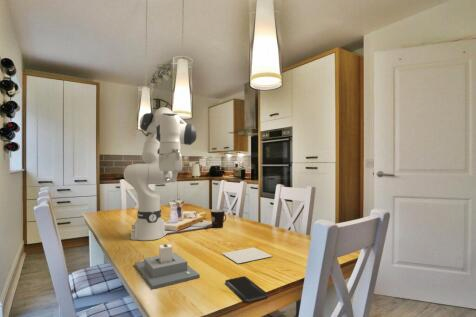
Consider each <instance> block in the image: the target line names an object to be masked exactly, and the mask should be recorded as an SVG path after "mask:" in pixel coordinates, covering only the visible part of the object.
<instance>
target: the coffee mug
mask: <svg viewBox="0 0 476 317" xmlns="http://www.w3.org/2000/svg"><path fill="white" fill-rule="evenodd" d="M225 212H226V210H224V209H210V216H211V217H210V218H211V226H212V229H222V228H223V227H224V222H226V220H227V215H226V214H225Z"/></svg>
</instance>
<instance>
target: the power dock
mask: <svg viewBox="0 0 476 317" xmlns="http://www.w3.org/2000/svg"><path fill="white" fill-rule="evenodd" d="M134 267H136V269H137V270H138V272H139V273H140V274H141V275H142V277H143V278H144V280H145V281H146V283H148V285H149V286H150V288H151V289H152V290H154V289H159V288H163V287H167V286H170V285H176V284H178V283H182V282H187V281H191V280H195V279H199V278H200V273H198V272H197V271H196V270H195V269H193V268H192V267H190V265H188V261H187V260H186V259H185V258H183V257H182V256H181V255H179V254H178V253H177V252H172V262H168V263H163V264H159V255H154V256H149V257H144V258H143V261H141V260H140V261H138V262H134Z"/></svg>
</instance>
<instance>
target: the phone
mask: <svg viewBox="0 0 476 317" xmlns="http://www.w3.org/2000/svg"><path fill="white" fill-rule="evenodd" d="M225 285H226V286H227V287H228V288H229V289H230V290H231V291H232V292H233V293H234V294H235V295H236V296H237V297H238V298H239V299H240V300H241V301H243V302H244V303H247V304H248V303H251V302H252V303H253V302H257V301H260V300H265V299H267V298H268V296H269V295H268V292H267V291H265V290H264V289H263V288H262V287H260V286H259V285H257V283H255V282H254V281H252V280H251V279H250V278H249V277H247V276H244V275H243V276H239V277H238V276H237V277H234V278H228V279H225Z"/></svg>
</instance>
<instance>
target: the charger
mask: <svg viewBox="0 0 476 317" xmlns="http://www.w3.org/2000/svg"><path fill="white" fill-rule="evenodd" d="M172 253H173V246H172V244H170V243H168V244H166V243H165V244H159V246H158V256H159V264H163V263H168V262H172Z"/></svg>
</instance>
